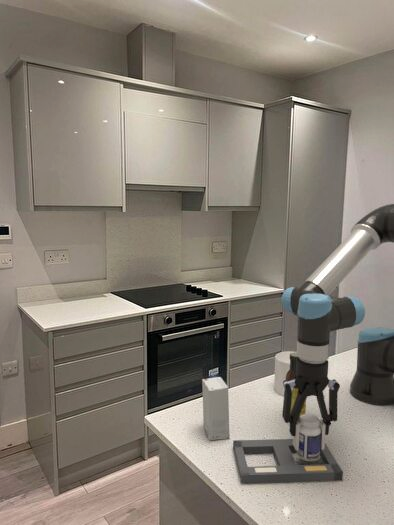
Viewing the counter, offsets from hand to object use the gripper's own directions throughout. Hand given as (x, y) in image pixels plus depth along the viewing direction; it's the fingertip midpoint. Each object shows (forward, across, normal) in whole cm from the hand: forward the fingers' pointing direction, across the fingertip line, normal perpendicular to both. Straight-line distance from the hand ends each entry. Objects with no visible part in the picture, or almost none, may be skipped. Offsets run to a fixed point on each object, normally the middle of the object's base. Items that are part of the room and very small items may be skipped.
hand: (308, 446), depth 101 cm
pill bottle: (+3, 0, 0) cm, 3 cm away
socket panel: (+4, +6, 0) cm, 7 cm away
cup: (+5, -7, -40) cm, 41 cm away
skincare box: (+5, +22, -15) cm, 27 cm away
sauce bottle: (+5, -3, -22) cm, 23 cm away
